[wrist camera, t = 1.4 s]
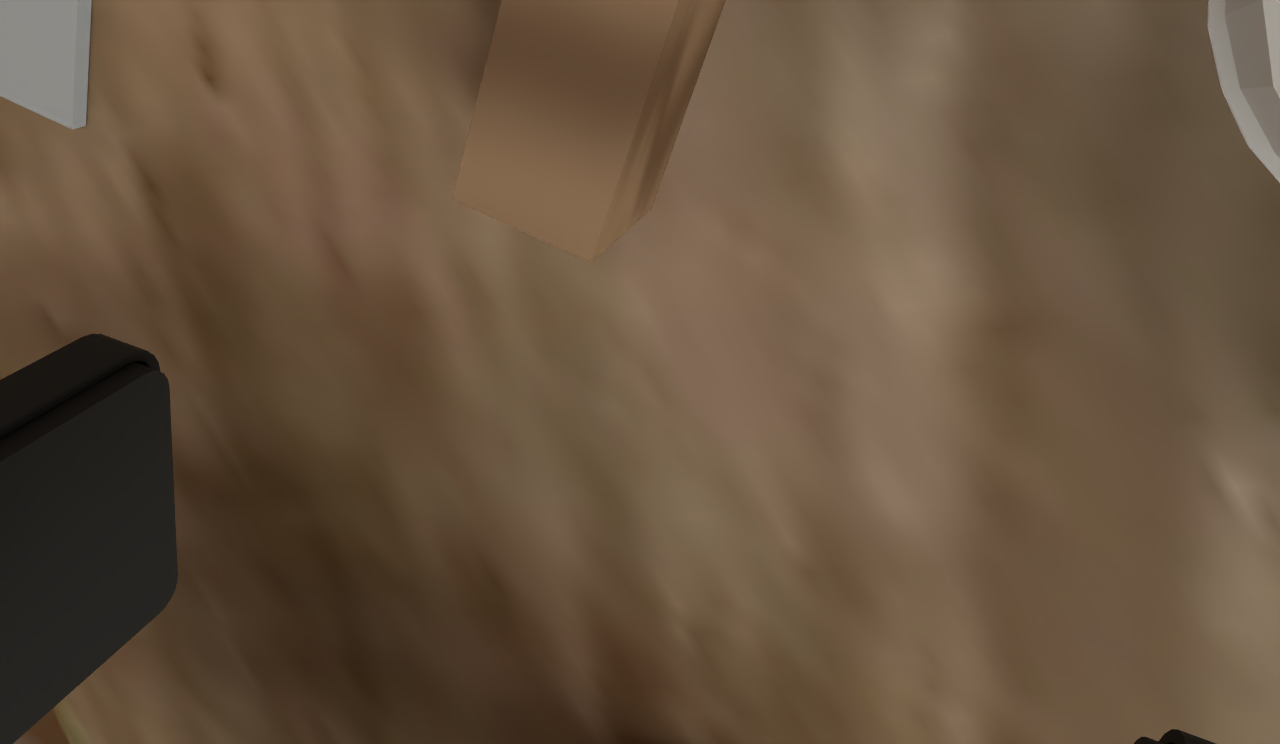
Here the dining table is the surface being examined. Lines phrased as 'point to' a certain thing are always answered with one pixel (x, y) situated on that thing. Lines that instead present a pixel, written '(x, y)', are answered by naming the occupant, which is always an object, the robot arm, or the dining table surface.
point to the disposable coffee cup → (1250, 70)
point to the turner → (581, 114)
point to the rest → (46, 57)
